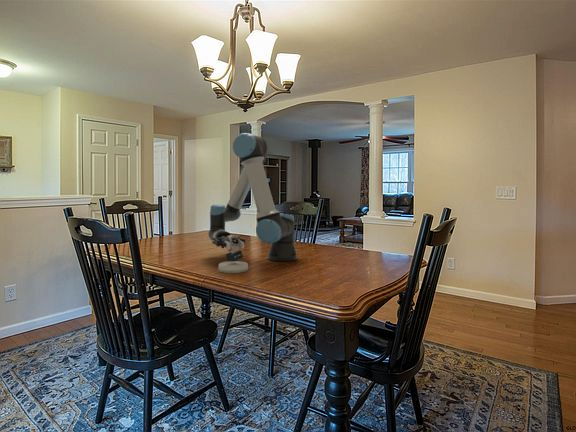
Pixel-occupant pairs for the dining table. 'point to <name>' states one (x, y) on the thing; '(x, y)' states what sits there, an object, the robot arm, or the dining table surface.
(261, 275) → the dining table surface
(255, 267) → the dining table surface
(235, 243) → the watch
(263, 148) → the robot arm
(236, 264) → the display plinth
